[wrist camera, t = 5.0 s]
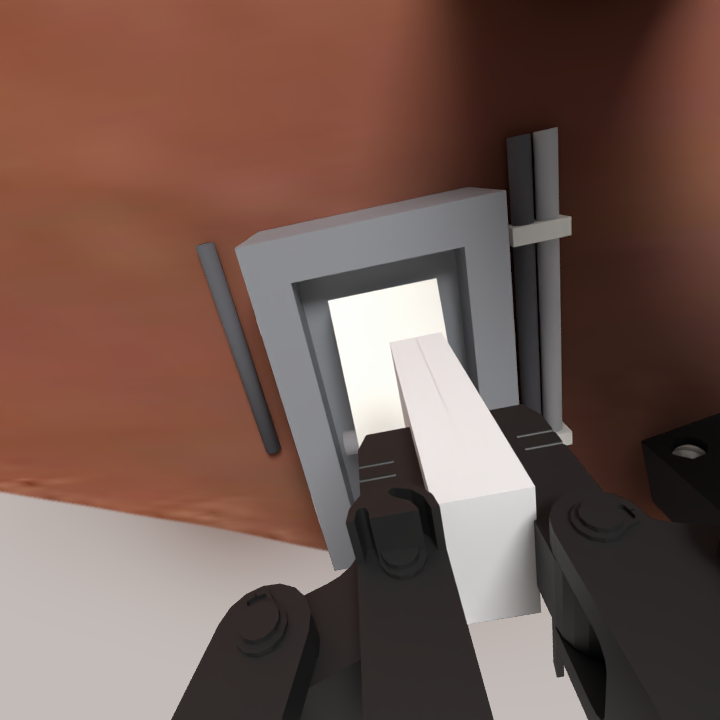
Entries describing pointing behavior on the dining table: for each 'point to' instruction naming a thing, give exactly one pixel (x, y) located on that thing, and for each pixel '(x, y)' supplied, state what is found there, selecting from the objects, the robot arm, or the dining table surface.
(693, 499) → the electrical component
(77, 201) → the dining table surface
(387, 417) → the rocker
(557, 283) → the dressed cords
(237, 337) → the dark grey thin bar
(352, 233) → the breaker housing
